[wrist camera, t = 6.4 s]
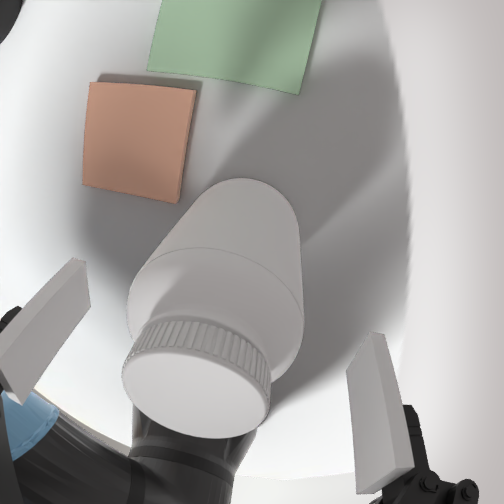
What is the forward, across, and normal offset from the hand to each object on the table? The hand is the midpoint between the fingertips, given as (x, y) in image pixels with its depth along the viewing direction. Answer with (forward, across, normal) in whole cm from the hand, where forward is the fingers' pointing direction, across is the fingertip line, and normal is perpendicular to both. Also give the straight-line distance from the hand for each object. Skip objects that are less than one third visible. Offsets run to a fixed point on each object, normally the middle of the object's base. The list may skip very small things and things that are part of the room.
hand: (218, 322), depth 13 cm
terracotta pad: (+11, +9, -5) cm, 15 cm away
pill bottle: (+11, 0, 0) cm, 11 cm away
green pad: (+11, +4, -15) cm, 19 cm away
